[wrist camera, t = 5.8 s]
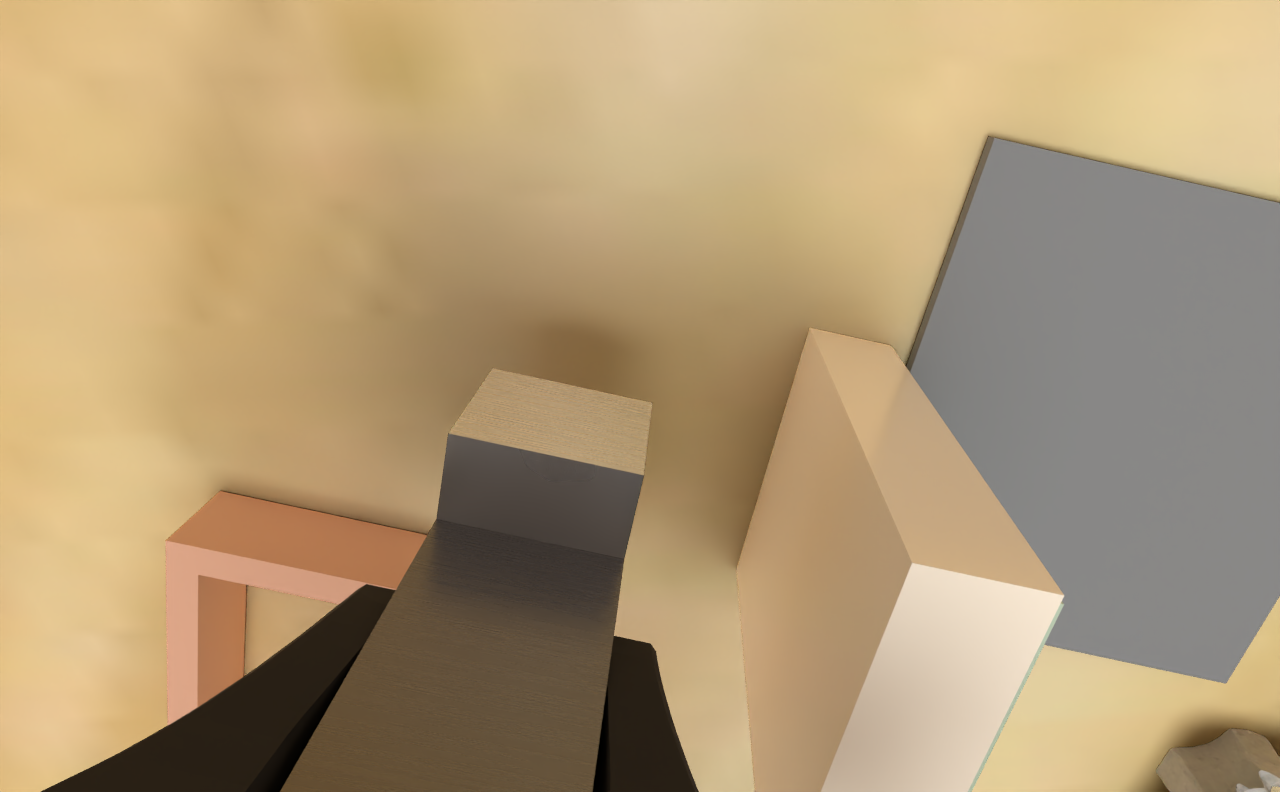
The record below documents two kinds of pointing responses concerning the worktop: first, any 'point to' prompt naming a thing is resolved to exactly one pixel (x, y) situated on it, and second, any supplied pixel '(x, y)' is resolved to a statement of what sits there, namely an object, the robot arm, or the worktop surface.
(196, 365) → the worktop surface
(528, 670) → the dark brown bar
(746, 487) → the worktop surface
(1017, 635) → the glazed tile
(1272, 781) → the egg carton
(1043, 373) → the mat
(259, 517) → the pusher holder
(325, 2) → the worktop surface
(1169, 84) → the worktop surface
